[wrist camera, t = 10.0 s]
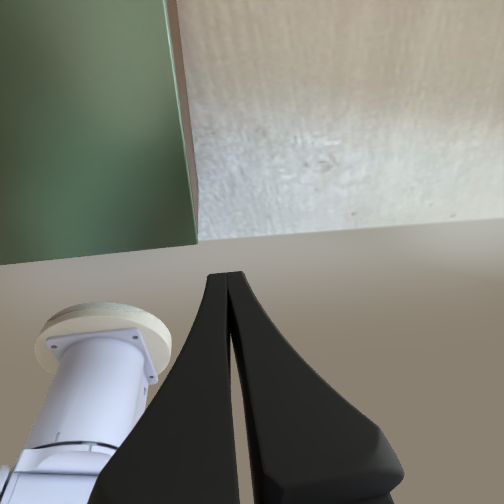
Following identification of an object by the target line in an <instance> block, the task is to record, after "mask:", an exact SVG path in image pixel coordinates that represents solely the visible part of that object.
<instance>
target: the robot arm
mask: <svg viewBox="0 0 504 504" xmlns="http://www.w3.org/2000/svg"><path fill="white" fill-rule="evenodd" d="M230 333H231V338H232V343H233V348H234V353H235V358H236V363H237V368H238V373H239V378H240V383H241V389H242V396H243V404H244V412H245V422H246V430H247V440H248V449H249V459H250V468H251V477H252V487H253V496H254V504H394V502H393V500H392V497H391V495H390V493H389V492H390V491H392V490H393V489H394V488H395V487H396V486H397V485H398V484H399V483H400V482H401V481H402V480H403V478H404V471H403V468H402V467H401V464H400V462H399V460H398V458H397V456H396V454H395V452H394V451H393V449H392V447H391V445H390V444H389V442H388V440H387V439H386V437H385V436H384V434H383V432H382V431H381V429H380V428H379V427H378V426H377V425H376V424H375V423H373V422H372V421H371V420H370V419H368V418H367V417H366V416H365V415H363V414H362V413H361V412H360V411H359V410H357V409H356V408H355V407H354V406H353V405H351V404H350V403H349V402H348V401H347V400H345V399H344V398H343V397H342V396H341V395H340V394H339V393H338V392H336V391H335V390H334V389H333V388H332V387H331V386H330V385H329V384H328V383H326V381H325V380H324V379H322V377H320V376H319V375H318V374H317V373H316V372H315V371H314V370H313V369H312V368H311V367H310V366H309V365H308V364H307V363H306V362H305V361H304V360H303V358H301V356H300V355H299V354H298V353H297V352H296V351H295V350H294V348H292V346H291V345H290V344H289V343H288V342H287V340H286V339H285V338H284V337H283V336H282V334H281V333H280V332H279V330H278V329H277V328H276V326H275V325H274V324H273V322H272V321H271V319H270V318H269V317H268V316H267V314H266V312H265V311H264V309H263V308H262V306H261V304H260V303H259V301H258V300H257V298H256V296H255V295H254V293H253V291H252V289H251V287H250V285H249V283H248V282H247V279H246V277H245V274H244V273H243V272H242V271H238V272H228V273H217V274H209V275H208V276H207V282H206V287H205V291H204V295H203V299H202V301H201V305H200V307H199V310H198V313H197V316H196V318H195V321H194V323H193V326H192V328H191V331H190V333H189V335H188V337H187V339H186V342H185V344H184V346H183V348H182V350H181V352H180V354H179V356H178V357H177V359H176V361H175V363H174V365H173V367H172V369H171V370H170V372H169V374H168V375H167V377H166V379H165V381H164V382H163V384H162V386H161V387H160V389H159V390H158V392H157V394H156V395H155V397H154V398H153V400H152V401H151V403H150V404H149V406H148V407H147V409H146V410H145V405H146V399H147V392H148V385H151V384H156V383H157V382H158V376H157V374H156V371H155V369H154V366H153V363H152V361H151V358H150V355H149V353H148V350H147V348H146V345H145V342H144V340H143V337H142V334H141V332H140V330H139V329H138V328H126V329H117V330H108V331H99V332H90V333H81V334H72V335H63V336H54V337H48V338H47V339H46V341H45V344H46V345H47V347H48V348H49V349H50V351H51V352H52V353H53V355H54V356H55V357H56V359H57V360H58V362H59V363H60V364H59V366H58V368H57V371H56V373H55V375H54V377H53V380H52V382H51V385H50V387H49V389H48V391H47V394H46V396H45V398H44V400H43V403H42V405H41V407H40V410H39V412H38V414H37V417H36V419H35V421H34V424H33V426H32V428H31V430H30V433H29V435H28V437H27V440H26V442H25V444H24V446H23V449H22V451H21V453H20V455H19V456H18V458H17V460H16V462H15V463H14V466H13V467H12V469H11V471H10V468H11V466H10V465H1V466H0V504H240V500H239V488H238V476H237V465H236V453H235V442H234V429H233V418H232V405H231V387H230V385H231V380H230V379H231V376H230V373H231V371H230V368H231V367H230ZM9 471H10V472H9Z"/></svg>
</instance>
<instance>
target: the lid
mask: <svg viewBox="0 0 504 504" xmlns="http://www.w3.org/2000/svg"><path fill="white" fill-rule="evenodd" d="M194 244H198V236H197V228H196V221H195V213H194V206H193V199H192V191H191V184H190V177H189V169H188V162H187V155H186V147H185V140H184V133H183V125H182V118H181V111H180V103H179V96H178V89H177V81H176V74H175V67H174V59H173V52H172V45H171V37H170V30H169V22H168V15H167V8H166V0H0V265H6V264H16V263H25V262H34V261H43V260H53V259H62V258H72V257H81V256H91V255H101V254H110V253H119V252H129V251H138V250H147V249H157V248H166V247H175V246H185V245H194Z"/></svg>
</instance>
